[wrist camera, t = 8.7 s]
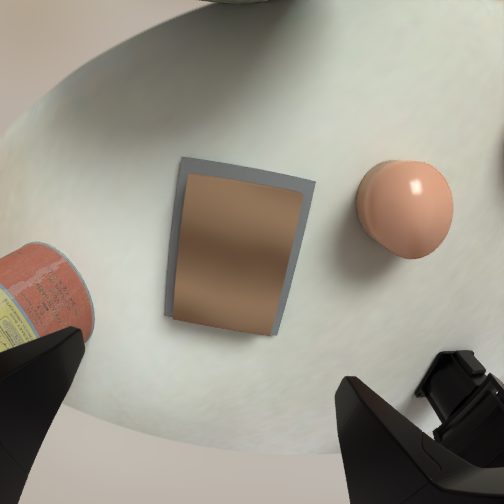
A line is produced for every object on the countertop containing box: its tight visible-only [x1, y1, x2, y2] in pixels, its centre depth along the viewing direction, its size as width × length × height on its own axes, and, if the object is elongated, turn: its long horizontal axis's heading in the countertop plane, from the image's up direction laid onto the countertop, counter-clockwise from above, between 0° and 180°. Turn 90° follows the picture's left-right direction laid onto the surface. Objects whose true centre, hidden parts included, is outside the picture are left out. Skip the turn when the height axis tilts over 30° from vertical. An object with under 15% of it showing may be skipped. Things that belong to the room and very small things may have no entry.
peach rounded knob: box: [356, 160, 453, 259], centre depth 17 cm, size 6×6×4 cm
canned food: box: [0, 242, 95, 352], centre depth 16 cm, size 11×11×12 cm
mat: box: [164, 157, 316, 335], centre depth 20 cm, size 12×9×1 cm
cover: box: [173, 173, 304, 336], centre depth 19 cm, size 10×7×2 cm
